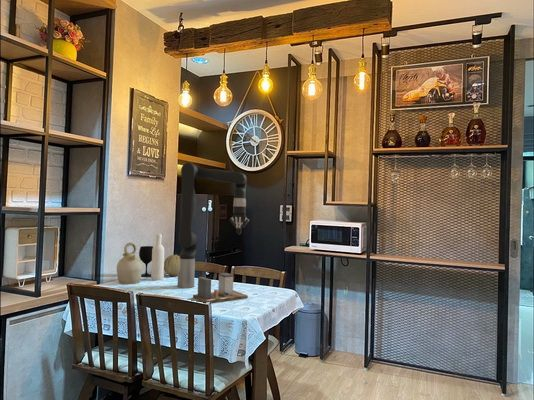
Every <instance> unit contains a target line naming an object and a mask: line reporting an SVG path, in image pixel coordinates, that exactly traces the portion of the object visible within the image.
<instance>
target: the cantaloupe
mask: <svg viewBox="0 0 534 400" xmlns="http://www.w3.org/2000/svg"><path fill="white" fill-rule="evenodd" d="M179 265H180V255H178V254H177V253H175V254H172V255H169V256H167V257H166V258H165V259H164V273H166V274H167V275H168V276H170V277H178V271H179Z"/></svg>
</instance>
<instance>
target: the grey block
mask: <svg viewBox="0 0 534 400" xmlns="http://www.w3.org/2000/svg"><path fill="white" fill-rule="evenodd" d="M234 276H235V275H234V274H232V273H228V272H221V273H218V286H217V287H218V289H217V290H218V294H221V295H223V296H229V295H233V290H234Z"/></svg>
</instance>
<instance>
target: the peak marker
mask: <svg viewBox="0 0 534 400" xmlns="http://www.w3.org/2000/svg"><path fill="white" fill-rule="evenodd" d="M213 292H214V298H218V289H214V290H213Z"/></svg>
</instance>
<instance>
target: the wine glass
mask: <svg viewBox="0 0 534 400" xmlns="http://www.w3.org/2000/svg"><path fill="white" fill-rule="evenodd" d="M153 247H154V246H153V245H142V246H140V247H139V251H138V256H139V257H138V258H139V259H140V260H141V262H142V264H144V265H145V272H144V273H142V274H141V278H151V274H152V273H148V265H149V264H150V263H152V249H153Z"/></svg>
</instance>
